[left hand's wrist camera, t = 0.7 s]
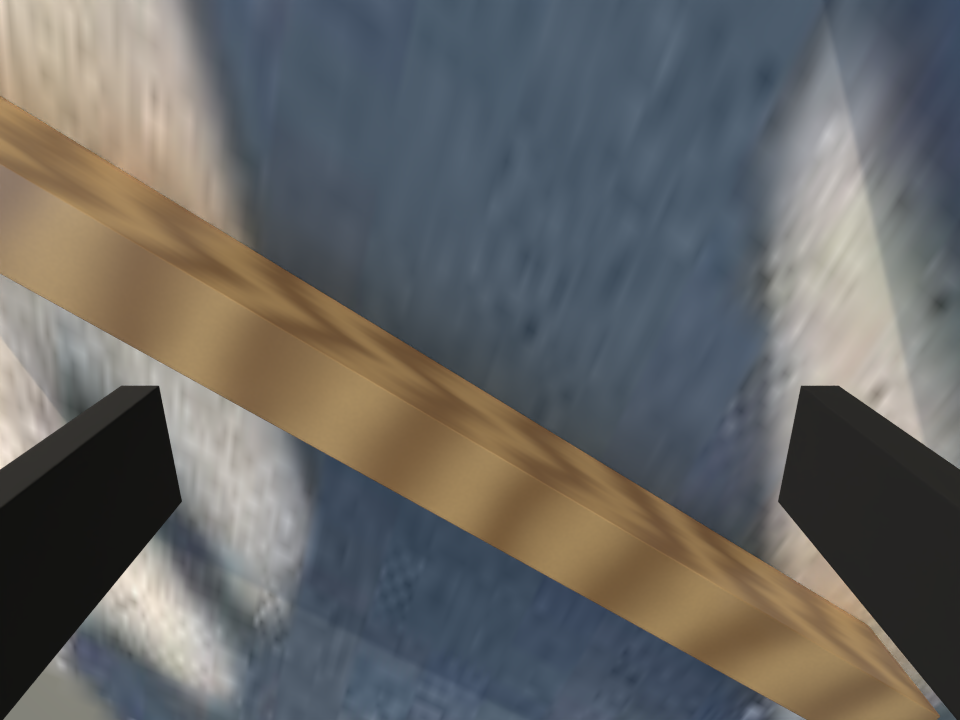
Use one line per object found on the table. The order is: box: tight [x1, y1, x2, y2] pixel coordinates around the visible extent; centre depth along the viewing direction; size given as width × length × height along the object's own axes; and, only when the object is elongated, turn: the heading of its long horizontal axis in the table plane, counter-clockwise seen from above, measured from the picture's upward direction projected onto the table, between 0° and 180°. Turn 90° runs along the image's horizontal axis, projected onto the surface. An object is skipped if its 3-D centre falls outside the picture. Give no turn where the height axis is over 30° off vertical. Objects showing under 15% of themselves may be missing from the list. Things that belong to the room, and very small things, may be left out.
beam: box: [0, 96, 940, 720], centre depth 36 cm, size 77×5×8 cm, turn 57°
